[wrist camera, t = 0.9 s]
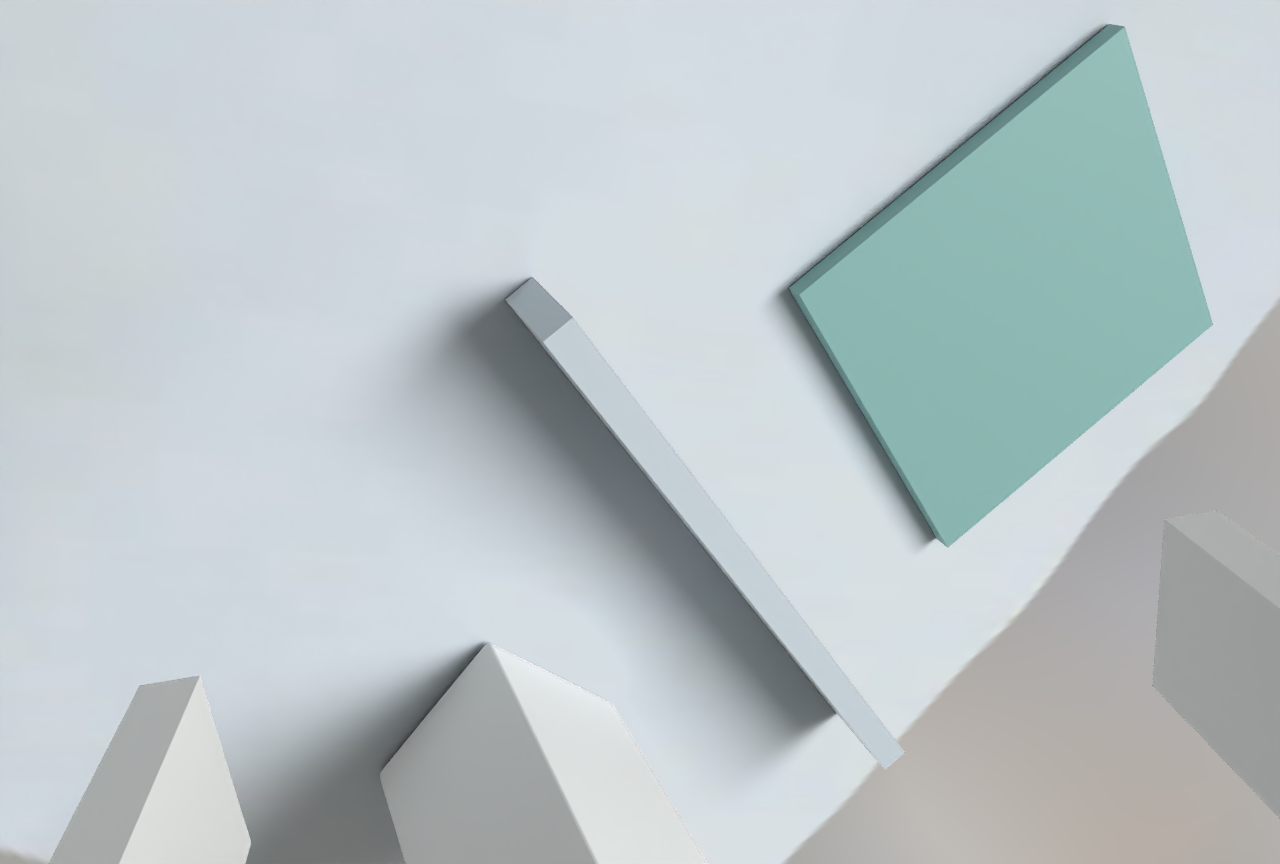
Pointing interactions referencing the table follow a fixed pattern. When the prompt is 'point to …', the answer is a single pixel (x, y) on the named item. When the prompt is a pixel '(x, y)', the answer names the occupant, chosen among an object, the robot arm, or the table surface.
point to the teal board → (1014, 289)
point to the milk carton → (528, 777)
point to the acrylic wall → (696, 508)
